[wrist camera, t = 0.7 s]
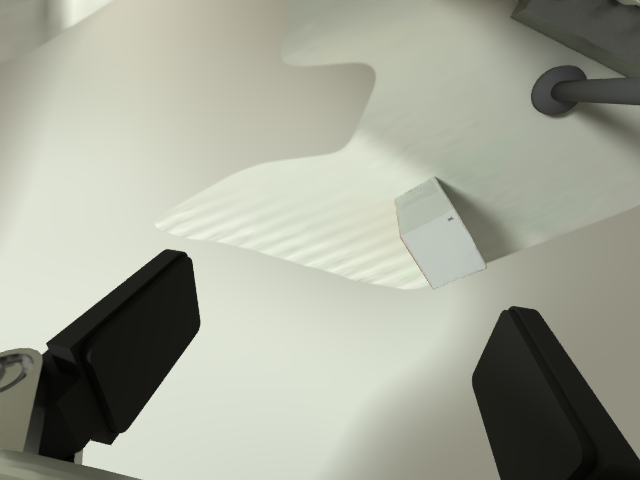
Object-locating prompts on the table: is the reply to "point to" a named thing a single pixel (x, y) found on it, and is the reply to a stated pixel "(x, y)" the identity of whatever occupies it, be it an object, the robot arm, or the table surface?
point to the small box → (436, 235)
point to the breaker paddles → (630, 2)
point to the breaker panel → (589, 29)
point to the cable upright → (580, 90)
